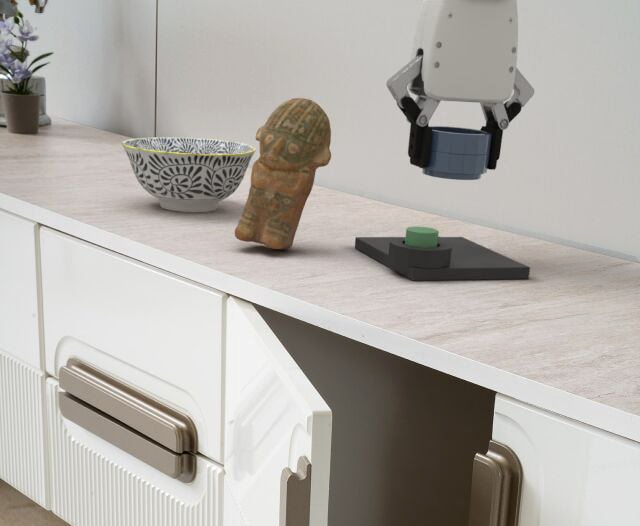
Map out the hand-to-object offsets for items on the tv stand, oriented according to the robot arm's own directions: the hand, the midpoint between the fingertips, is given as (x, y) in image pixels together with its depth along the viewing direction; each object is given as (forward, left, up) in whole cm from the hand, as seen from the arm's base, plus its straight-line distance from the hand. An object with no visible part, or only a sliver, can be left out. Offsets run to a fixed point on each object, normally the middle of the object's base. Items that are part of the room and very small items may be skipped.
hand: (452, 165), depth 116 cm
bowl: (+20, -29, -10) cm, 37 cm away
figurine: (+16, -5, -10) cm, 20 cm away
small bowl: (0, 0, -1) cm, 1 cm away
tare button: (+6, +6, -7) cm, 11 cm away
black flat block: (+1, +2, -10) cm, 10 cm away
